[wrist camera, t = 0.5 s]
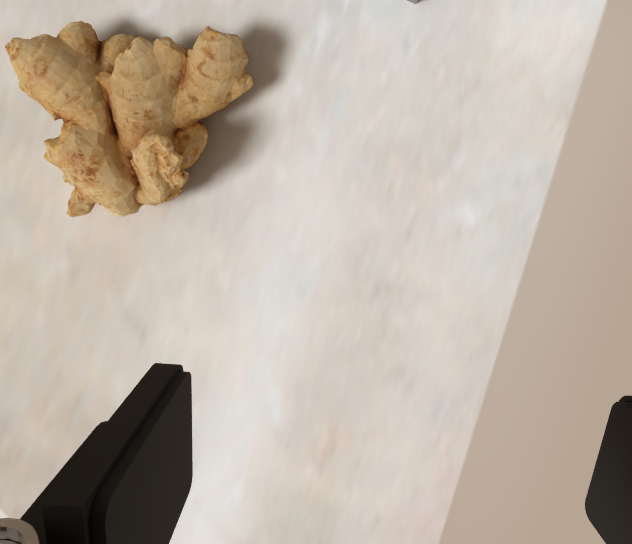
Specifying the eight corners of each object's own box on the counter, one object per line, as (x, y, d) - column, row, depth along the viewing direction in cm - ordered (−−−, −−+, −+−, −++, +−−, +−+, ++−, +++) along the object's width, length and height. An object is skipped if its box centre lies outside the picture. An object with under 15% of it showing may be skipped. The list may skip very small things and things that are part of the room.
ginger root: (19, 198, 35) (-56, 183, 27) (78, 9, 35) (20, -62, 27) (207, 258, 37) (189, 260, 29) (265, 78, 37) (262, 30, 29)
